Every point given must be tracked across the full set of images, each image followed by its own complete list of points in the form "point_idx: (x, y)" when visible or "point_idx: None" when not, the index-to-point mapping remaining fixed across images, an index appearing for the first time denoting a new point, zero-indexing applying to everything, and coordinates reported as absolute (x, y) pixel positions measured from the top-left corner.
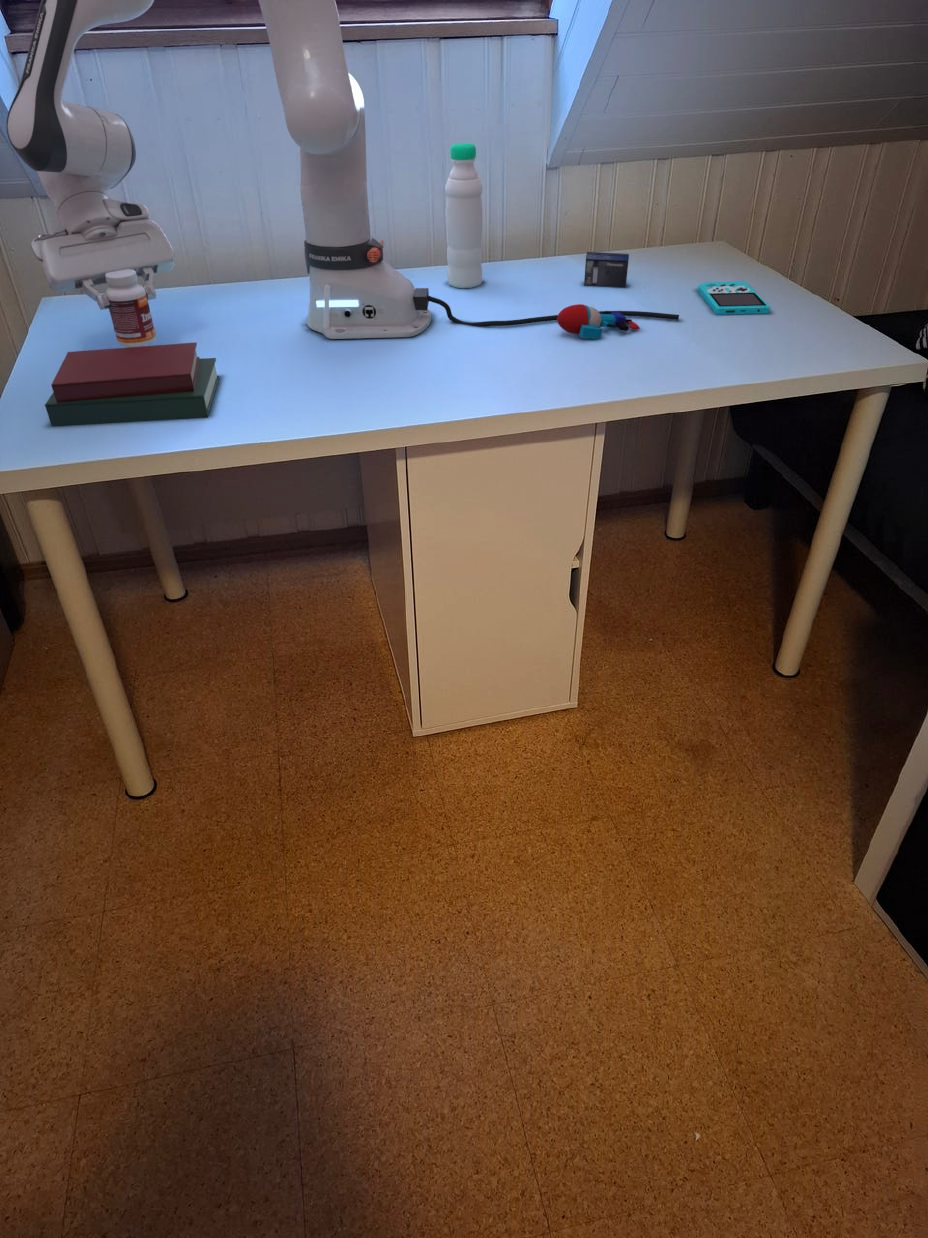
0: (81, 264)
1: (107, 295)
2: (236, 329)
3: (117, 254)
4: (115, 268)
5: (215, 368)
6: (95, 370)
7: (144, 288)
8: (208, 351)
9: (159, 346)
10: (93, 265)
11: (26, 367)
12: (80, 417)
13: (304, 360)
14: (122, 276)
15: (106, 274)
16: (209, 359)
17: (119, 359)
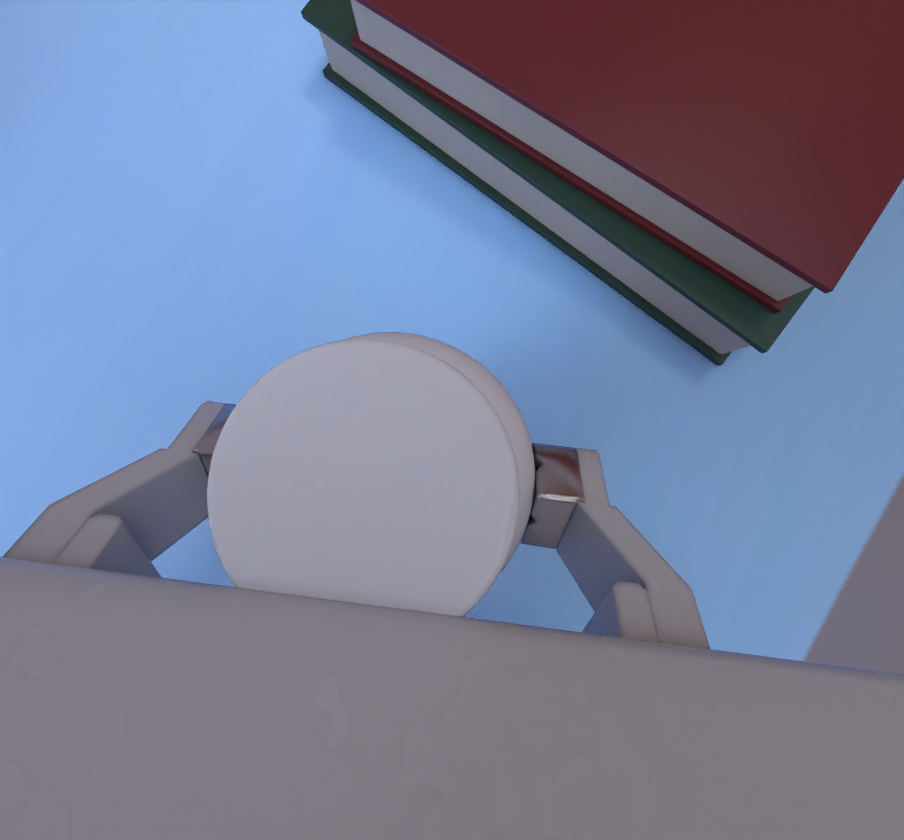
0: (734, 823)
1: (534, 475)
2: (6, 464)
3: (174, 814)
4: (351, 617)
5: (324, 43)
6: None
7: None
8: (216, 327)
9: (484, 50)
10: (581, 743)
11: None
12: None
13: (28, 4)
14: (404, 362)
15: (491, 560)
16: (328, 12)
17: (695, 28)
